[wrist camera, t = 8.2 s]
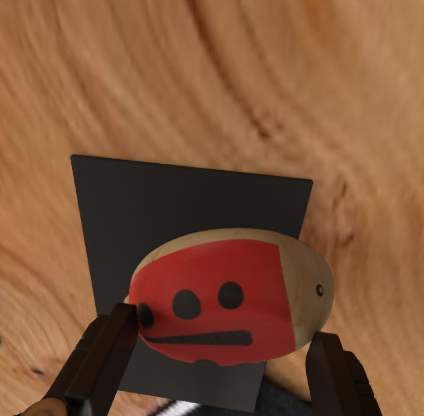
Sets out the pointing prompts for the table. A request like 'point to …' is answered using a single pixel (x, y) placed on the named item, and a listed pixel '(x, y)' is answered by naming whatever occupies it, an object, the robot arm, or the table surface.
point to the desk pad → (167, 231)
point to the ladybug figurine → (231, 296)
